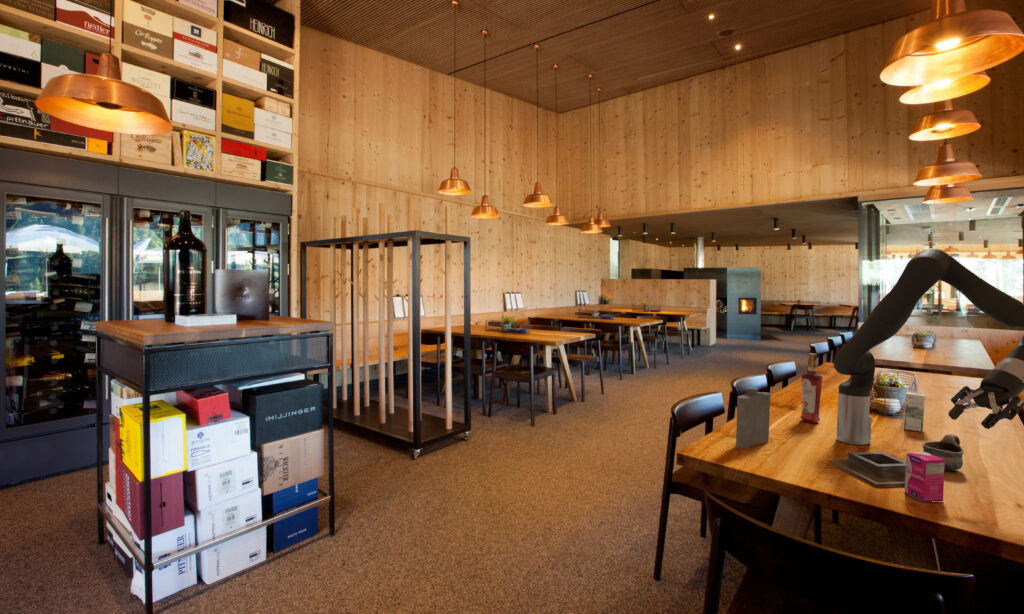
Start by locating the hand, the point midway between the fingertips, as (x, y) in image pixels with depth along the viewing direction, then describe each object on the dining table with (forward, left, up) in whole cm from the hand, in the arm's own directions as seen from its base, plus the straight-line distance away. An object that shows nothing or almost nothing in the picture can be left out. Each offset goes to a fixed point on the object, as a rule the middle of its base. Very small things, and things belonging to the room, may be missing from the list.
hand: (967, 421), depth 128 cm
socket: (+9, -16, -20) cm, 28 cm away
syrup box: (-41, -55, -20) cm, 71 cm away
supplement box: (+11, 0, -20) cm, 23 cm away
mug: (-15, -19, -20) cm, 32 cm away
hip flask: (+33, -44, -20) cm, 58 cm away
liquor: (-7, -68, -20) cm, 71 cm away
